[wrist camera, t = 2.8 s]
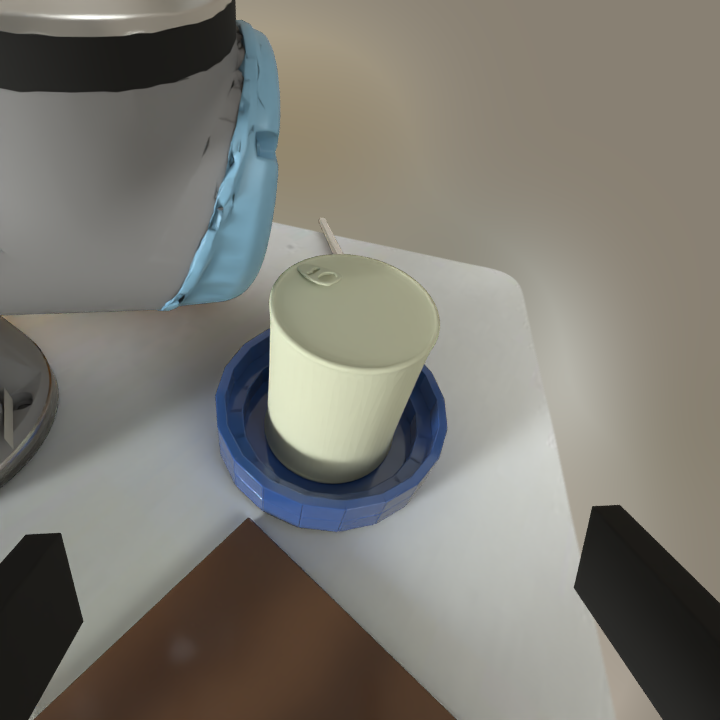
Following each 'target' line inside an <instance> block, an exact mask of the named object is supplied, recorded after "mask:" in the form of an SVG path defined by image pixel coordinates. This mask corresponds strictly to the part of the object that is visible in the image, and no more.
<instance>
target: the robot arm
mask: <svg viewBox="0 0 720 720" xmlns="http://www.w3.org/2000/svg"><path fill="white" fill-rule="evenodd" d="M235 7H236V6H235V0H0V315H23V314H51V313H79V312H107V311H135V310H158V311H169V310H172V309H175V308H177V307H178V306H185V305H194V304H203V303H212V302H221V301H227V300H230V299H233V298H235V297H237V296H239V295H241V294H242V293H243V292H245V291H246V290H247V289H248V288H249V286H250V285H251V284H252V283H253V281H254V280H255V278H256V276H257V274H258V272H259V270H260V268H261V265H262V262H263V260H264V256H265V253H266V249H267V245H268V241H269V236H270V231H271V226H272V219H273V213H274V207H275V200H276V191H277V180H278V163H277V159H276V155H275V151H276V148H277V143H278V136H279V128H280V91H279V81H278V71H277V66H276V61H275V56H274V53H273V50H272V47H271V45H270V43H269V41H268V39H267V37H266V36H265V35H264V34H263V33H262V32H259V31H258V30H255V29H253V28H252V26H251V25H250V24H249V23H247V22H245V21H243V20H236V9H235ZM58 399H59V393H58V385H57V381H56V378H55V375H54V373H53V371H52V369H51V367H50V365H49V363H48V361H47V360H46V358H45V356H44V354H43V353H42V351H41V350H40V349H39V347H38V346H37V345H36V344H35V343H34V342H33V341H32V340H31V339H30V338H29V337H27V336H26V335H25V334H24V333H23V332H21V331H20V330H19V329H17V328H16V327H15V326H13V325H12V324H11V323H9V322H8V321H7V320H5V319H4V318H3V317H1V316H0V488H1V487H2V486H3V485H4V484H6V483H7V482H8V481H9V480H10V479H11V478H12V477H14V476H15V475H16V474H17V473H18V472H19V471H20V470H21V469H22V468H23V467H24V466H25V465H26V464H27V462H28V461H29V460H30V459H31V458H32V457H33V455H34V454H35V453H36V451H37V450H38V449H39V447H40V446H41V445H42V443H43V441H44V440H45V438H46V436H47V435H48V433H49V431H50V429H51V427H52V424H53V422H54V419H55V416H56V412H57V408H58ZM574 589H575V590H576V592H577V593H578V595H579V596H580V598H581V599H582V601H583V602H584V604H585V605H586V607H587V608H588V610H589V611H590V613H591V614H592V616H593V617H594V618H595V620H596V621H597V623H598V624H599V626H600V627H601V629H602V630H603V632H604V633H605V635H606V636H607V638H608V639H609V641H610V642H611V643H612V645H613V646H614V648H615V649H616V651H617V652H618V654H619V655H620V657H621V658H622V660H623V661H624V663H625V664H626V666H627V667H628V669H629V670H630V672H631V673H632V675H633V676H634V678H635V679H636V681H637V682H638V684H639V685H640V687H641V688H642V689H643V691H644V692H645V694H646V695H647V697H648V698H649V700H650V701H651V703H652V704H653V706H654V707H655V708H656V710H657V712H658V713H659V715H660V716H661V717H662V719H663V720H720V603H719V602H718V601H717V600H716V599H715V598H714V597H713V596H712V595H711V594H710V593H709V592H708V591H707V590H706V589H705V588H704V587H703V586H702V585H701V584H700V583H699V582H698V581H697V580H696V579H695V578H694V577H693V576H692V575H691V574H690V573H689V572H688V571H687V570H686V569H684V568H683V567H682V566H681V565H680V564H679V563H678V562H677V561H676V560H675V559H674V558H673V557H672V556H671V555H670V554H669V553H668V552H667V551H666V550H665V549H664V548H663V547H662V546H661V545H660V544H659V543H658V542H657V541H656V540H655V539H654V538H653V537H652V536H651V535H650V534H649V533H648V532H647V531H646V530H644V528H643V527H642V526H641V525H640V524H639V523H638V522H636V521H635V519H634V518H632V516H631V515H630V514H628V512H627V511H625V510H624V509H623V508H622V507H621V506H620V505H610V506H593V507H592V510H591V515H590V519H589V524H588V528H587V532H586V537H585V541H584V545H583V550H582V554H581V559H580V563H579V567H578V572H577V576H576V581H575V585H574ZM82 623H83V618H82V614H81V610H80V606H79V602H78V598H77V595H76V591H75V587H74V583H73V579H72V575H71V571H70V567H69V563H68V559H67V555H66V551H65V547H64V543H63V539H62V535H61V533H49V534H29V535H25V536H24V537H23V538H22V540H21V541H20V542H19V543H18V544H17V545H16V546H15V548H14V549H13V550H12V551H11V552H10V553H9V554H8V555H7V557H6V558H5V559H4V560H3V561H2V562H1V563H0V720H28V719H29V718H30V716H31V714H32V712H33V710H34V709H35V707H36V705H37V703H38V701H39V700H40V698H41V696H42V694H43V693H44V691H45V689H46V687H47V685H48V684H49V682H50V680H51V678H52V676H53V675H54V673H55V671H56V669H57V668H58V666H59V664H60V662H61V660H62V659H63V657H64V655H65V653H66V651H67V650H68V648H69V646H70V644H71V643H72V641H73V639H74V637H75V635H76V634H77V632H78V630H79V628H80V626H81V625H82Z"/></svg>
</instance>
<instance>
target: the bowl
mask: <svg viewBox="0 0 720 720" xmlns="http://www.w3.org/2000/svg"><path fill="white" fill-rule="evenodd" d="M269 362H270V328H269V329H267V330H266V331H264V332H263V333H261V334H259V335H258V336H256V337H255V338H253V339H252V340H250V341H248V342H247V343H245V344H244V345H243V346H242V347H241V349H240V350H239V351H238V352H237V353H236V355H235V356H234V357H233V358H232V359H231V361H230V362H229V363H228V364H227V365H226V367H225V368H224V371H223V374H222V377H221V380H220V383H219V386H218V389H217V392H216V395H215V396H216V397H215V400H216V413H217V427H218V436H219V444H220V453H221V456H222V458H223V460H224V462H225V465H226V467H227V469H228V471H229V473H230V475H231V477H232V479H233V481H234V483H235V484H236V486H237V487H238V488H239V489H240V490H241V491H242V492H243V493H244V494H245V495H246V496H247V497H248V498H249V499H251V500H252V501H253V502H254V503H255V504H256V505H257V506H258V507H259V508H260V509H261V510H263V511H264V512H266V513H268V514H270V515H272V516H274V517H277V518H279V519H281V520H283V521H285V522H287V523H290V524H292V525H294V526H296V527H300V528H308V529H317V530H326V531H334V532H338V531H344V530H349V529H354V528H359V527H364V526H368V525H373V524H377V523H378V522H380V521H382V520H383V519H385V518H387V517H388V516H390V515H391V514H393V513H395V512H396V511H398V510H400V509H401V508H403V507H405V505H407V503H408V502H409V501H410V499H411V498H412V497H413V496H414V494H415V493H416V492H417V491H418V489H419V488H420V487H421V485H422V484H423V483H424V482H425V480H426V478H427V477H428V475H429V473H430V472H431V470H432V469H433V467H434V466H435V464H436V462H437V461H438V459H439V457H440V454H441V450H442V447H443V443H444V439H445V436H446V432H447V420H446V410H445V400H444V397H443V395H442V393H441V391H440V389H439V387H438V385H437V382H436V380H435V378H434V376H433V374H432V372H431V371H430V370H429V369H428V368H427V367H426V366H425V364H424V366H423V368H422V370H421V372H420V374H419V377H418V379H417V381H416V383H415V386H414V388H413V390H412V392H411V395H410V397H409V399H408V402H407V404H406V406H405V408H404V411H403V413H402V415H401V418H400V420H399V422H398V425H397V427H396V429H395V432H394V435H393V440H392V444H391V447H390V450H389V452H388V454H387V456H386V458H385V459H384V460H383V462H382V463H381V464H380V465H379V466H378V467H377V468H376V469H375V470H373V471H372V472H371V473H369V474H368V475H366V476H364V477H362V478H360V479H357V480H354V481H351V482H346V483H338V484H327V483H319V482H315V481H311V480H308V479H305V478H303V477H301V476H299V475H297V474H295V473H293V472H292V471H290V470H289V469H288V468H286V467H285V466H284V465H283V464H282V463H281V462H280V461H279V460H278V459H277V458H276V456H275V455H274V453H273V452H272V450H271V448H270V446H269V444H268V442H267V438H266V434H265V415H266V411H267V408H268V390H269Z"/></svg>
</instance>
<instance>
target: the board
mask: <svg viewBox="0 0 720 720" xmlns="http://www.w3.org/2000/svg"><path fill="white" fill-rule="evenodd" d="M34 720H457V719H455V718H454V717H453V716H452V715H451V714H450V713H449V712H448V711H447V710H446V709H445V708H444V707H443V706H442V705H441V704H440V703H439V702H438V701H437V700H436V699H435V698H434V697H433V696H432V695H431V694H430V693H429V692H428V691H427V690H426V689H425V688H424V687H423V686H422V685H421V684H420V683H419V682H417V681H416V680H415V679H414V678H413V677H412V676H411V675H410V674H409V673H408V672H407V671H406V670H405V669H404V668H403V667H402V666H401V665H400V664H399V663H398V662H397V661H396V660H395V659H394V658H393V657H392V656H391V655H390V654H389V653H388V652H387V651H386V650H385V649H384V648H383V647H382V646H381V645H379V644H378V643H377V642H376V641H375V640H374V639H373V638H372V637H371V636H370V635H369V634H368V633H367V632H366V631H365V630H364V629H363V628H362V627H361V626H360V625H359V624H358V623H357V622H356V621H355V620H354V619H353V618H352V617H351V616H350V615H349V614H348V613H347V612H346V611H345V610H344V609H343V608H342V607H340V606H339V605H338V604H337V603H336V602H335V601H334V600H333V599H332V598H331V597H330V596H329V595H328V594H327V593H326V592H325V591H324V590H323V589H322V588H321V587H320V586H319V585H318V584H317V583H316V582H315V581H314V580H313V579H312V578H311V577H310V576H309V575H308V574H307V573H306V572H305V571H304V570H302V569H301V568H300V567H299V566H298V565H297V564H296V563H295V562H294V561H293V560H292V559H291V558H290V557H289V556H288V555H287V554H286V553H285V552H284V551H283V550H282V549H281V548H280V547H279V546H278V545H277V544H276V543H275V542H274V541H273V540H272V539H271V538H270V537H269V536H268V535H267V534H266V533H264V532H263V531H262V530H261V529H260V528H259V527H258V526H257V525H256V524H255V523H254V522H253V521H252V520H251V519H250V518H247V519H246V520H245V521H244V522H243V523H242V524H241V525H240V526H239V527H238V528H237V529H236V530H235V531H233V532H232V533H231V534H230V535H229V536H228V537H227V538H226V539H225V540H224V541H223V542H222V543H221V544H220V545H219V546H218V547H216V548H215V549H214V550H213V551H212V552H211V553H210V554H209V555H208V556H207V557H206V558H205V559H204V560H203V561H202V562H201V563H199V564H198V565H197V566H196V567H195V568H194V569H193V570H192V571H191V572H190V573H189V574H188V575H187V576H186V577H185V578H184V579H182V580H181V581H180V582H179V583H178V584H177V585H176V586H175V587H174V588H173V589H172V590H171V591H170V592H169V593H168V594H167V595H165V596H164V597H163V598H162V599H161V600H160V601H159V602H158V603H157V604H156V605H155V606H154V607H153V608H152V609H151V610H150V611H148V612H147V613H146V614H145V615H144V616H143V617H142V618H141V619H140V620H139V621H138V622H137V623H136V624H135V625H134V626H133V627H131V628H130V629H129V630H128V631H127V632H126V633H125V634H124V635H123V636H122V637H121V638H120V639H119V640H118V641H117V642H116V643H114V644H113V645H112V646H111V647H110V648H109V649H108V650H107V651H106V652H105V653H104V654H103V655H102V656H101V657H100V658H99V659H97V660H96V661H95V662H94V663H93V664H92V665H91V666H90V667H89V668H88V669H87V670H86V671H85V672H84V673H83V674H82V675H80V676H79V677H78V678H77V679H76V680H75V681H74V682H73V683H72V684H71V685H70V686H69V687H68V688H67V689H66V690H65V691H63V692H62V693H61V694H60V695H59V696H58V697H57V698H56V699H55V700H54V701H53V702H52V703H51V704H50V705H49V706H48V707H46V708H45V709H44V710H43V711H42V712H41V713H40V714H39V715H38V716H37V717H36V718H35V719H34Z"/></svg>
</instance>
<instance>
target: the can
mask: <svg viewBox="0 0 720 720" xmlns="http://www.w3.org/2000/svg"><path fill="white" fill-rule="evenodd" d="M269 310H270V362H269V390H268V408H267V411H266V415H265V434H266V438H267V442H268V444H269V446H270V448H271V450H272V452H273V453H274V455H275V456H276V458H277V459H278V460H279V461H280V462H281V463H282V464H283V465H284V466H285V467H286V468H288V469H289V470H290V471H292V472H293V473H295V474H297V475H299V476H301V477H303V478H305V479H308V480H311V481H315V482H319V483H327V484H338V483H346V482H351V481H354V480H357V479H360V478H362V477H364V476H366V475H368V474H369V473H371V472H372V471H373V470H375V469H376V468H377V467H378V466H379V465H380V464H381V463H382V462H383V460H384V459H385V458H386V456H387V454H388V452H389V450H390V447H391V444H392V440H393V435H394V432H395V429H396V427H397V425H398V422H399V420H400V418H401V415H402V413H403V411H404V408H405V406H406V404H407V402H408V399H409V397H410V395H411V392H412V390H413V388H414V386H415V383H416V381H417V379H418V377H419V374H420V372H421V370H422V368H423V366H424V363H425V361H426V359H427V357H428V355H429V353H430V351H431V350H432V348H433V347H434V345H435V343H436V341H437V338H438V335H439V330H440V319H439V314H438V310H437V308H436V306H435V303H434V301H433V300H432V298H431V297H430V295H429V294H428V293H427V291H426V290H425V289H424V288H423V287H422V286H421V285H420V284H419V283H418V282H417V281H416V280H414V279H413V278H412V277H410V276H409V275H408V274H406V273H405V272H403V271H401V270H399V269H397V268H396V267H394V266H391V265H389V264H387V263H384V262H381V261H379V260H375V259H372V258H368V257H363V256H357V255H350V254H330V255H321V256H316V257H312V258H309V259H305V260H303V261H300V262H298V263H296V264H294V265H293V266H291V267H290V268H288V269H287V270H286V271H285V272H283V273H282V274H281V275H280V276H279V278H278V279H277V280H276V282H275V283H274V285H273V288H272V290H271V293H270V298H269Z"/></svg>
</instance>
